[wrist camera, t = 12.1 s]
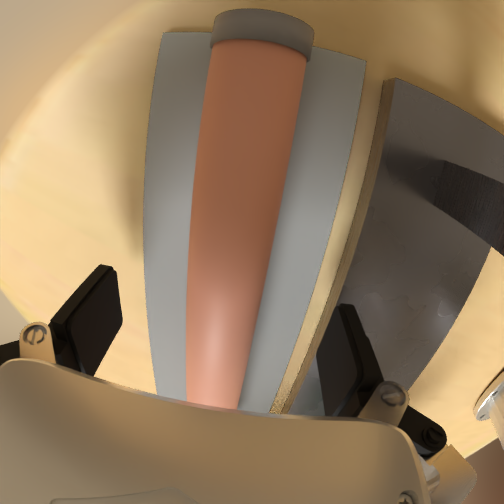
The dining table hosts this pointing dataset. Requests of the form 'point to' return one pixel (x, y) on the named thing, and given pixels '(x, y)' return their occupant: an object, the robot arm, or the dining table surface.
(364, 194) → the hook stand
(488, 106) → the dining table surface
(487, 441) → the dining table surface
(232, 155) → the rod
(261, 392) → the mat
